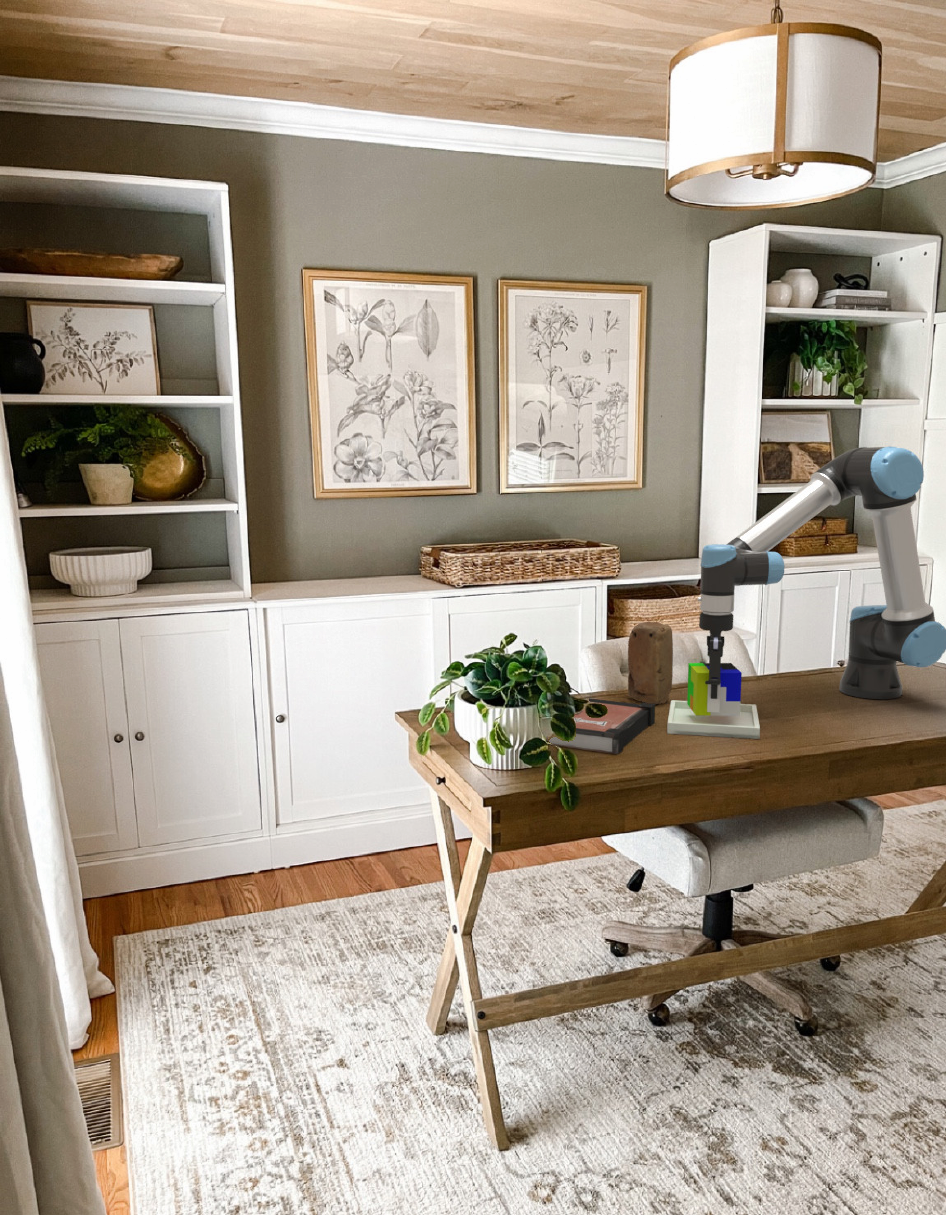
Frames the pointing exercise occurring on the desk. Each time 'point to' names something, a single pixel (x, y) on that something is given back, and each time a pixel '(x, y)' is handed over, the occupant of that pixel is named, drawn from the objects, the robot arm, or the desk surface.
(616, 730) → the book
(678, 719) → the tray
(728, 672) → the puzzle toy
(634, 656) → the block
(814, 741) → the desk surface
